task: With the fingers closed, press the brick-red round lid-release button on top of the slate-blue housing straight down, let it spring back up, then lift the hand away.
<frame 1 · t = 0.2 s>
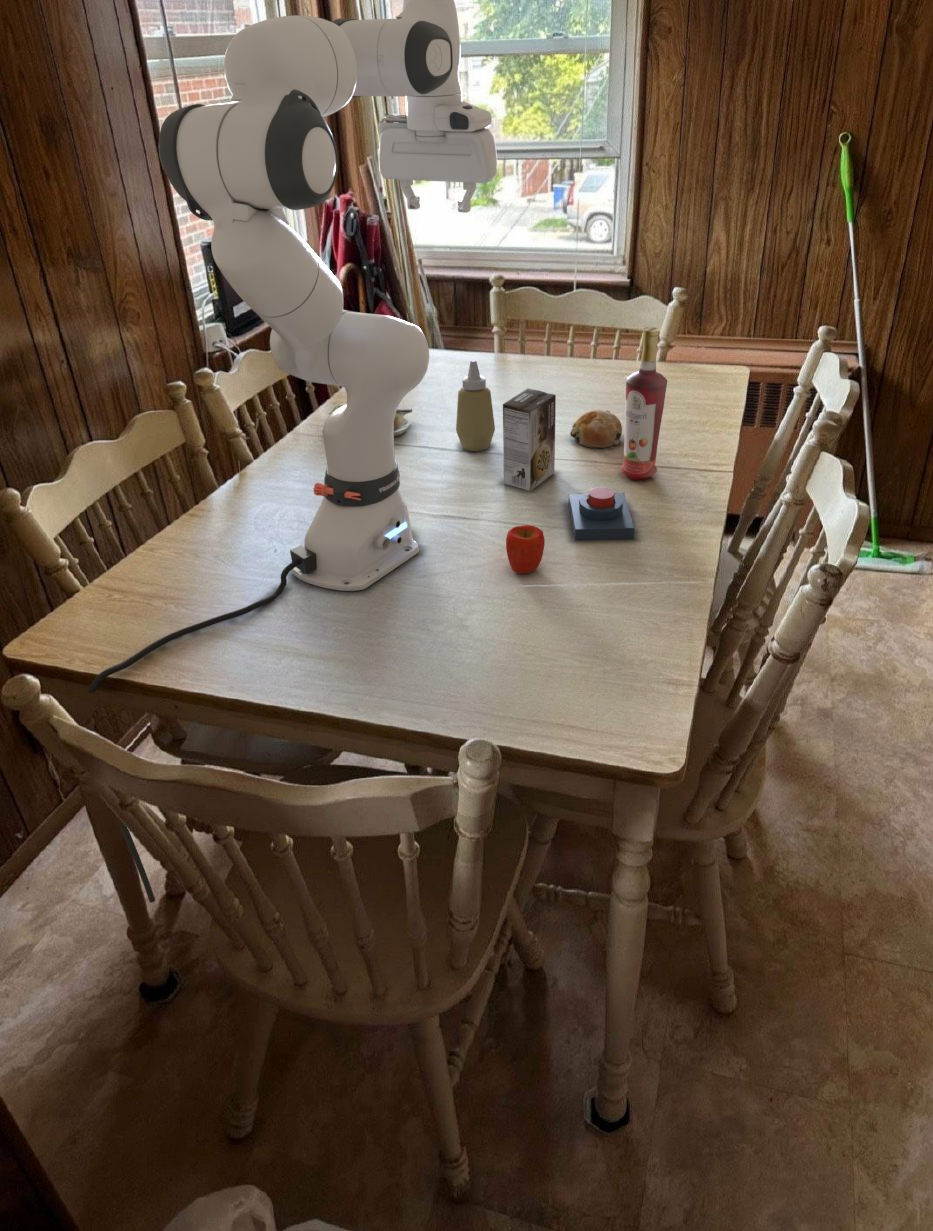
hand: (438, 210, 147), 47 cm above the table, tool pointing down, fingers open, 8 cm apart
lid button: (601, 498, 152), point 5 cm above the table, slide at 0.1 cm
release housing: (599, 521, 155), on the table
liquor: (638, 476, 169), on the table
squeeze bottle: (475, 446, 183), on the table
coffee box: (528, 479, 170), on the table
salad plate: (366, 430, 192), on the table
apple: (524, 571, 143), on the table
bread roll: (595, 440, 184), on the table
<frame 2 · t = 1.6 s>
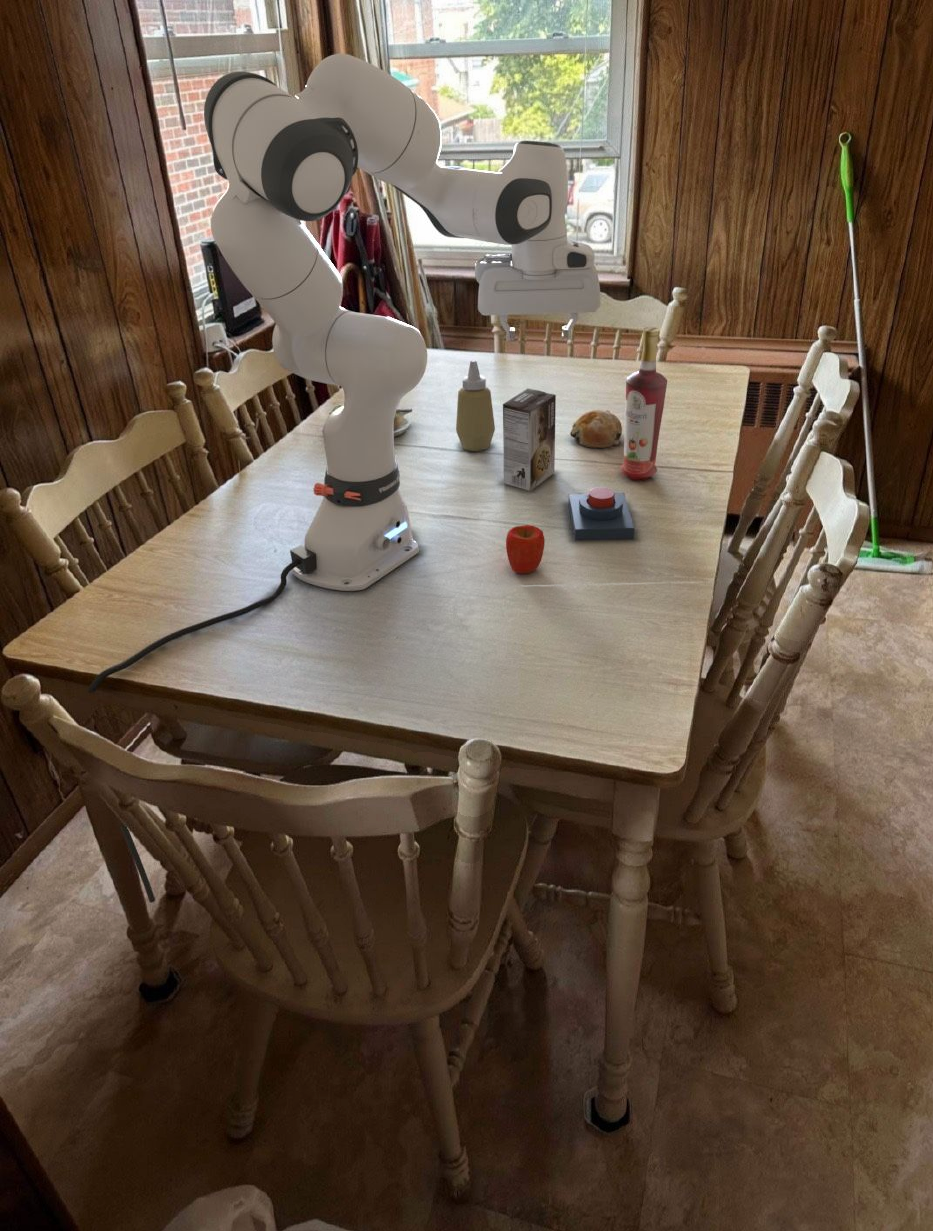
hand: (538, 339, 149), 29 cm above the table, tool pointing down, fingers open, 8 cm apart
nothing on the table moved.
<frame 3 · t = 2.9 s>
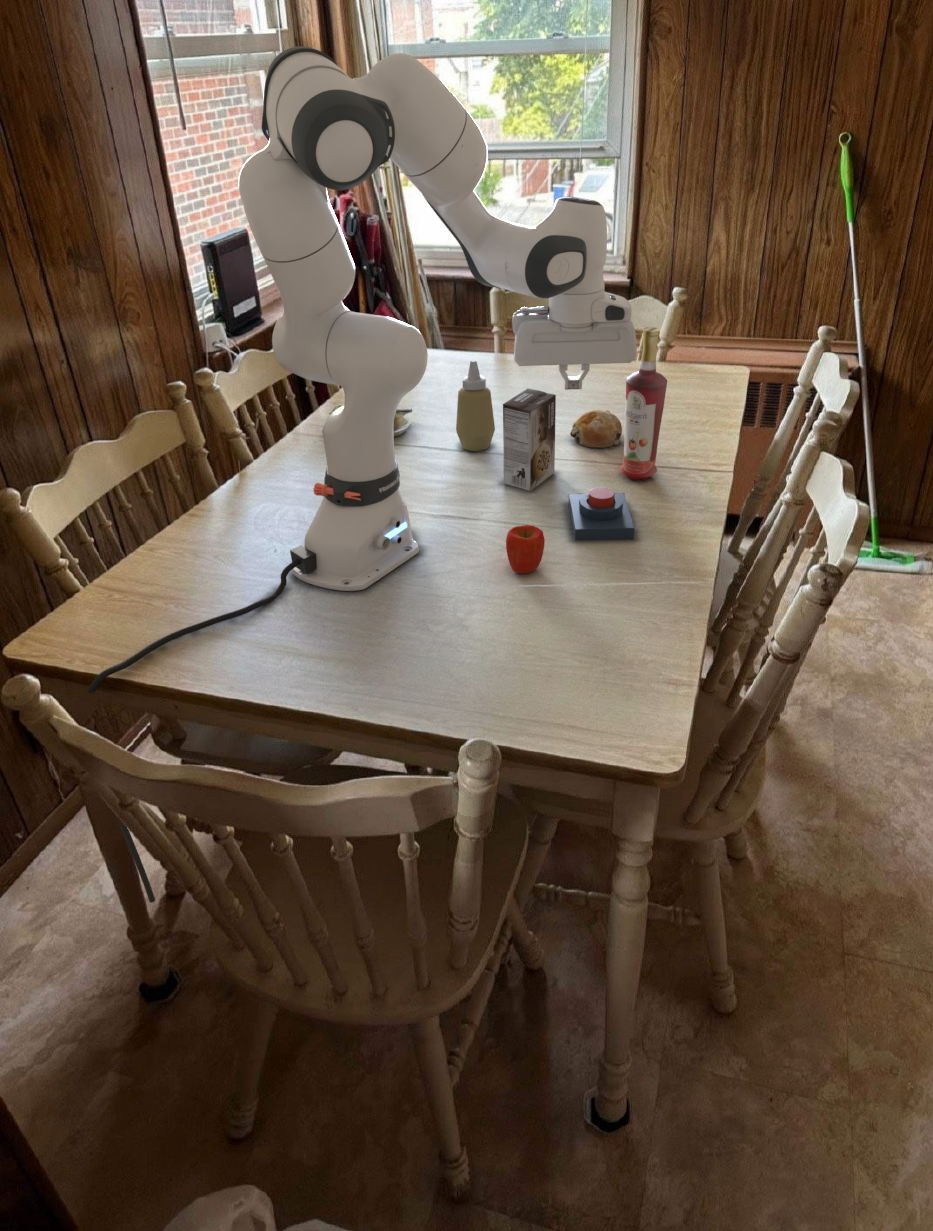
hand: (572, 388, 150), 21 cm above the table, tool pointing down, fingers closed
nothing on the table moved.
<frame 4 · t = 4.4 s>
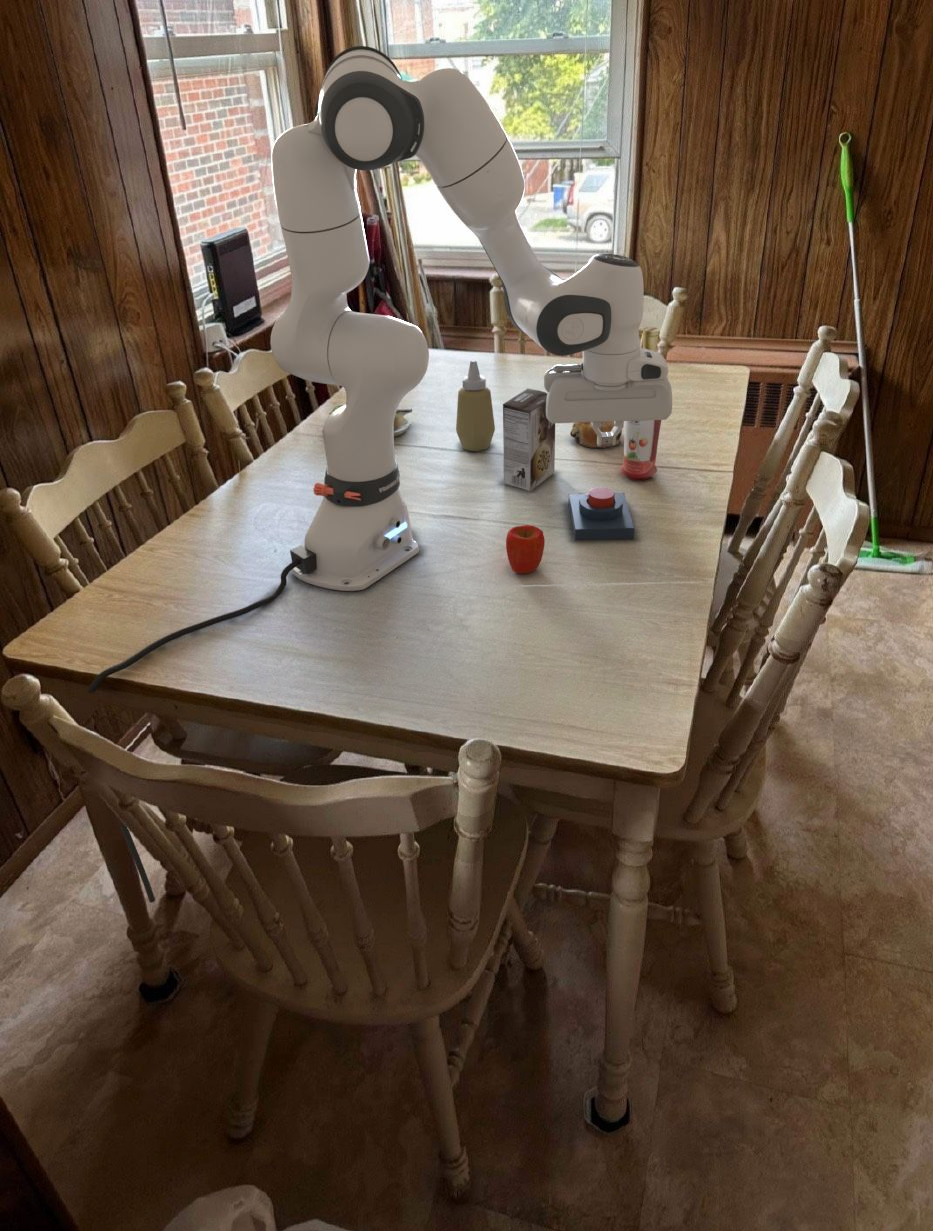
hand: (606, 444, 147), 15 cm above the table, tool pointing down, fingers closed
nothing on the table moved.
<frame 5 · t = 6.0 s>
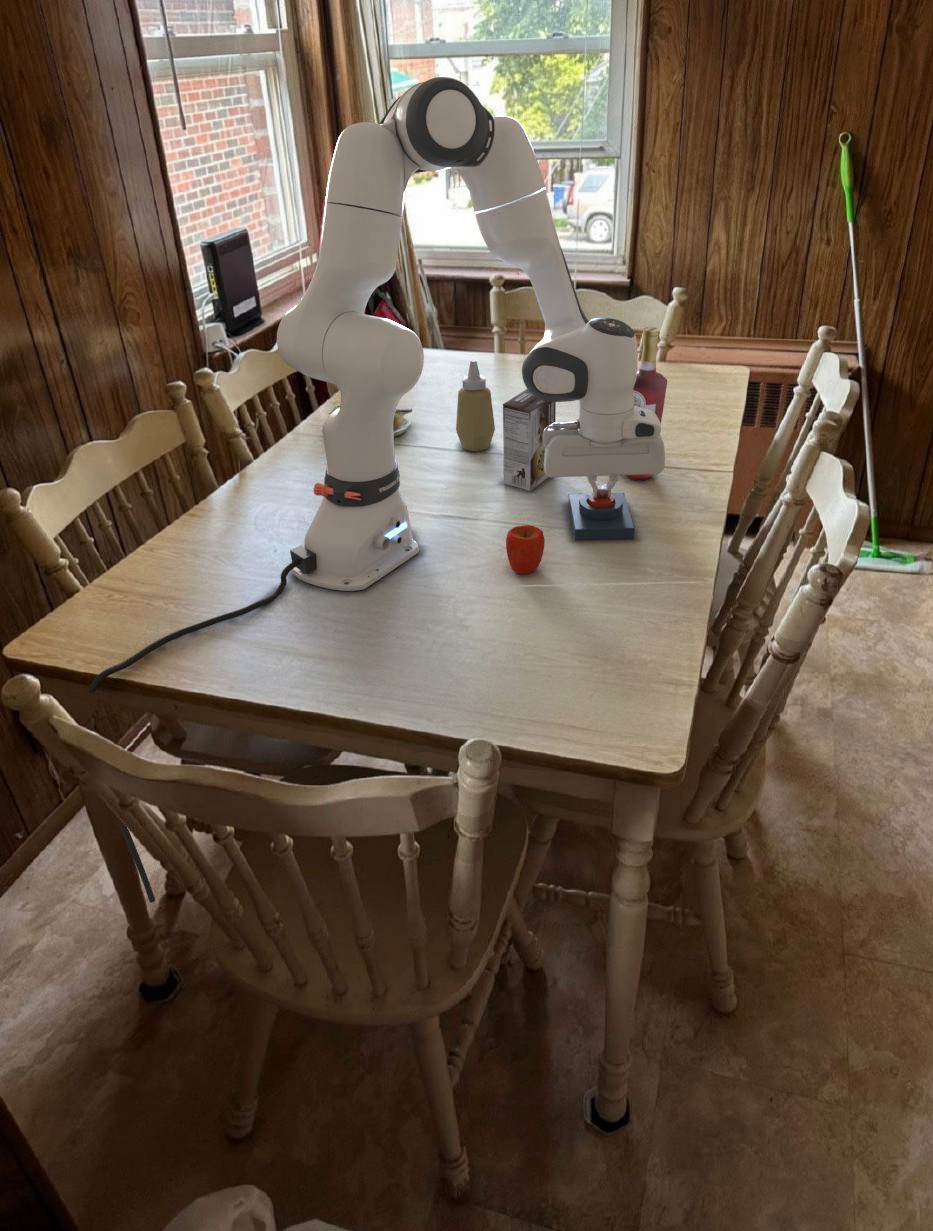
hand: (601, 496, 153), 5 cm above the table, tool pointing down, fingers closed, pressing on lid button
lid button: (601, 502, 153), point 4 cm above the table, slide at -0.9 cm, touching gripper
everything else where it was.
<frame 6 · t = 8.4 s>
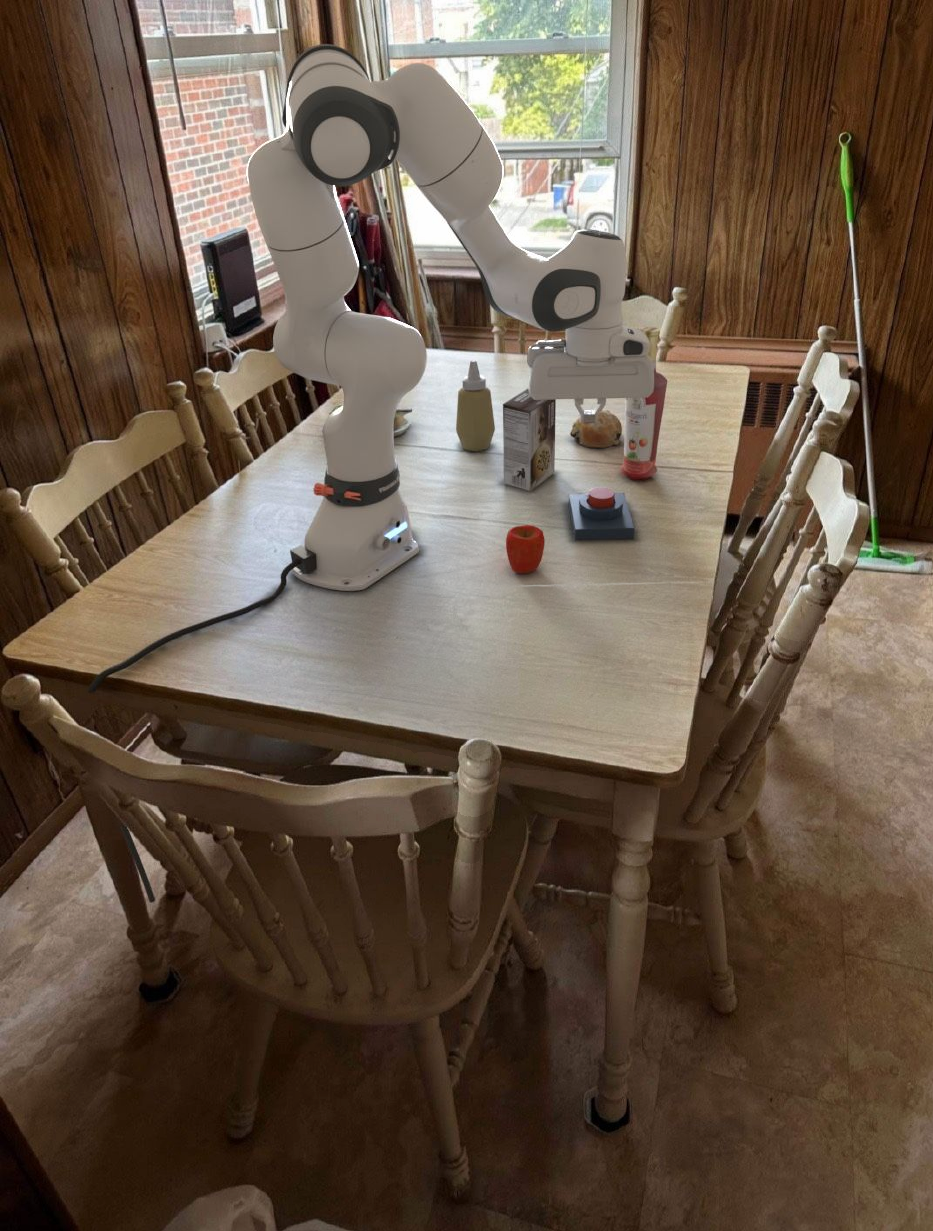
hand: (588, 422, 147), 18 cm above the table, tool pointing down, fingers closed
lid button: (601, 498, 152), point 5 cm above the table, slide at 0.1 cm
everything else where it was.
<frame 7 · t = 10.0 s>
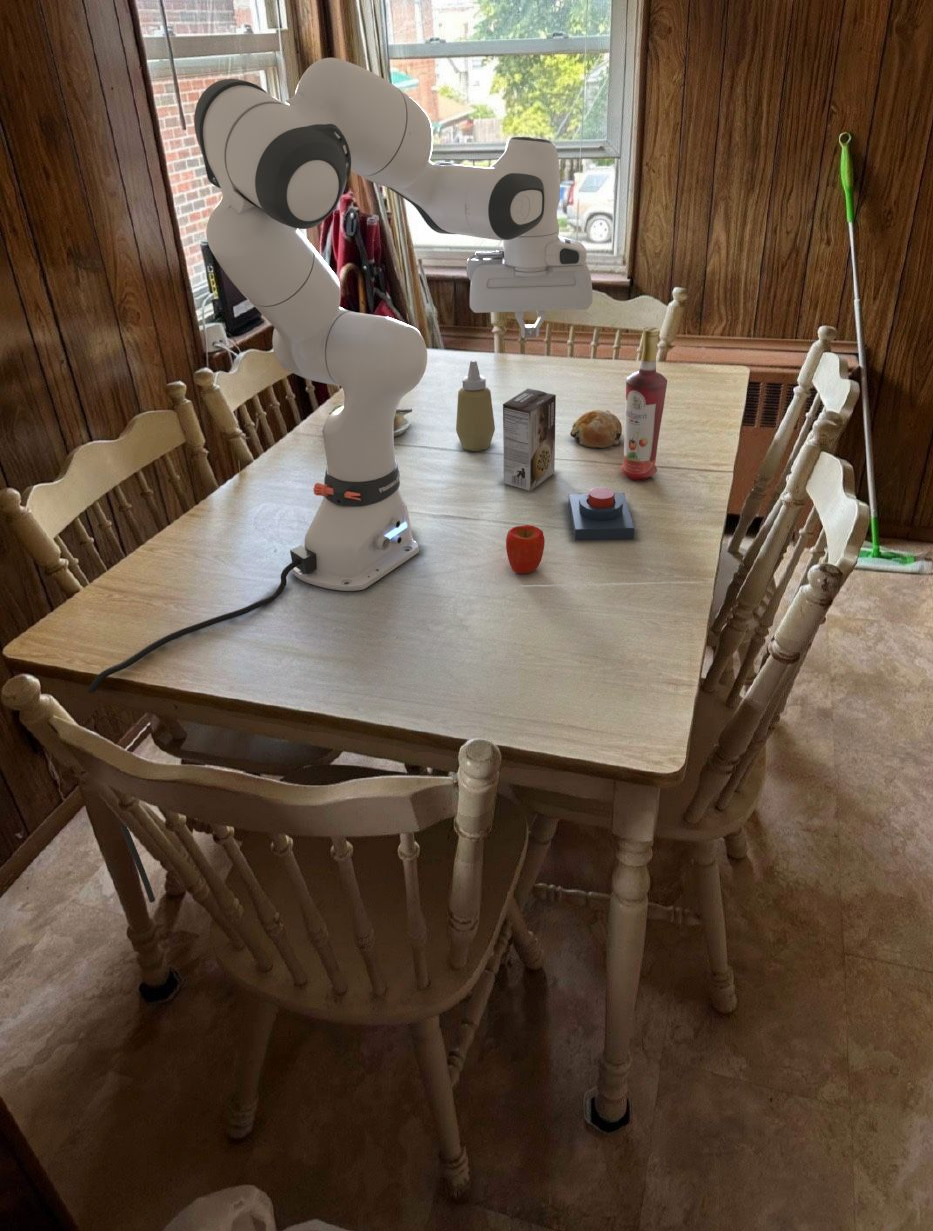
hand: (530, 336, 149), 29 cm above the table, tool pointing down, fingers closed
nothing on the table moved.
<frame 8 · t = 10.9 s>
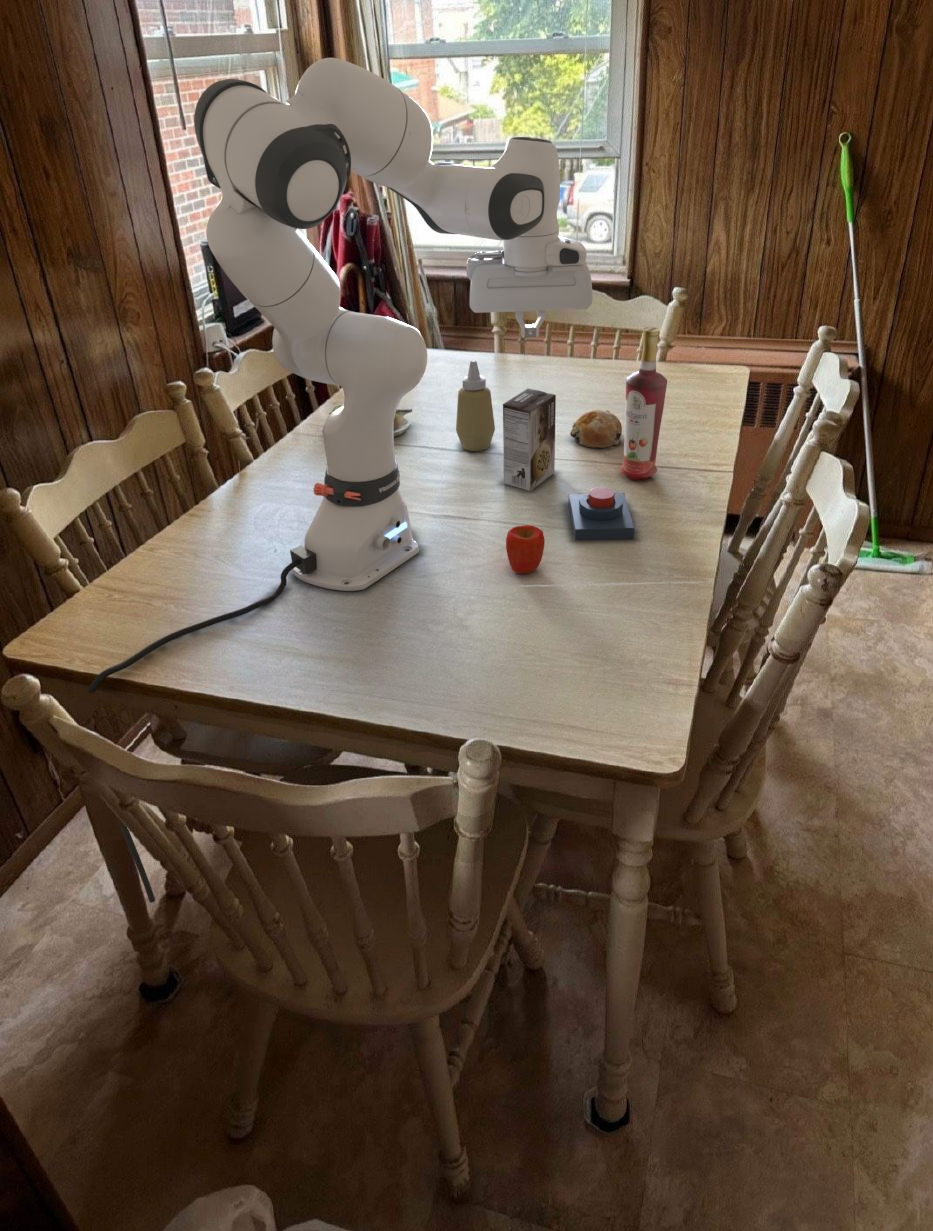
hand: (530, 336, 149), 29 cm above the table, tool pointing down, fingers closed
nothing on the table moved.
at the end: lid button pushed in 1.1 cm at the most during the clip, back to where it started at the end; lid button slide at 0.1 cm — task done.
